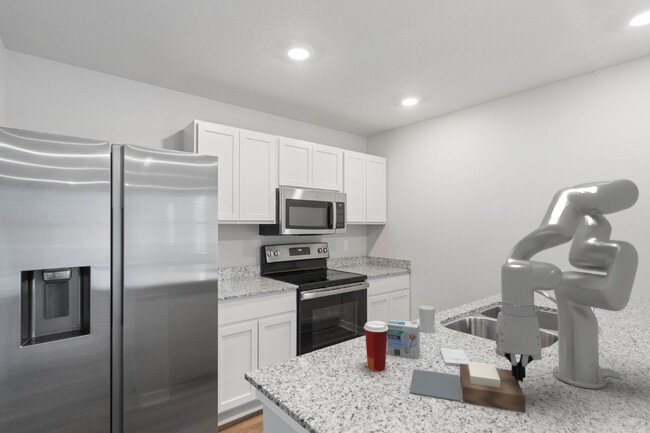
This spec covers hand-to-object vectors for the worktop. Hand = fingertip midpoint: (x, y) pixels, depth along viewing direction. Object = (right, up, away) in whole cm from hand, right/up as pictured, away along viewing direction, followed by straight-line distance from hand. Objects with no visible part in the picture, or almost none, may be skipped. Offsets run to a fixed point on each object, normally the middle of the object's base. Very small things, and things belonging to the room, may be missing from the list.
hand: (518, 379), depth 87 cm
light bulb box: (-23, -6, +30) cm, 38 cm away
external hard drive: (-7, -6, +25) cm, 27 cm away
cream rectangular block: (-8, -1, +3) cm, 9 cm away
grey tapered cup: (-7, -6, +54) cm, 55 cm away
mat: (-20, -5, +7) cm, 22 cm away
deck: (-7, -5, +2) cm, 8 cm away
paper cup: (-35, -6, +18) cm, 40 cm away
